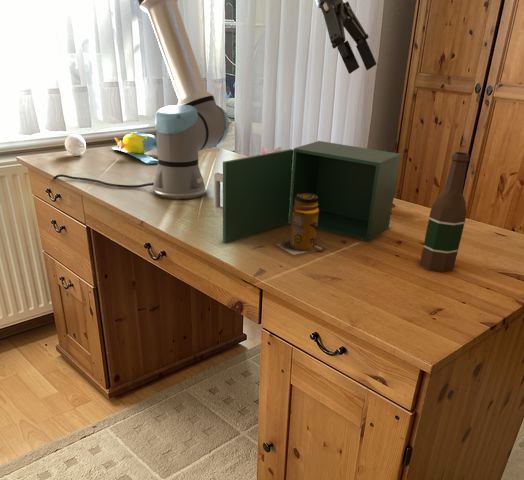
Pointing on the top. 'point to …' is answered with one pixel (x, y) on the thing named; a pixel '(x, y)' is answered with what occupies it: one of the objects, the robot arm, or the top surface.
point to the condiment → (303, 224)
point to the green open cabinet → (347, 186)
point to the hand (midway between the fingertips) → (363, 69)
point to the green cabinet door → (254, 193)
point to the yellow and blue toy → (138, 146)
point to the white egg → (75, 145)
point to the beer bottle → (446, 220)
